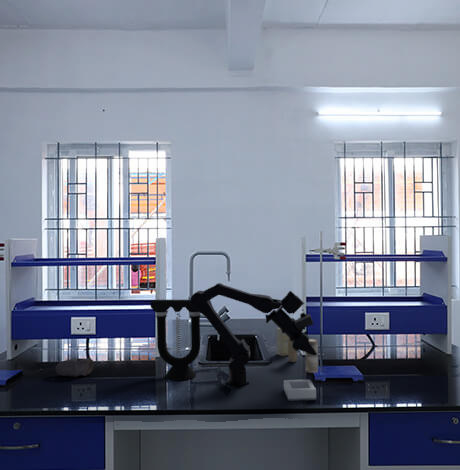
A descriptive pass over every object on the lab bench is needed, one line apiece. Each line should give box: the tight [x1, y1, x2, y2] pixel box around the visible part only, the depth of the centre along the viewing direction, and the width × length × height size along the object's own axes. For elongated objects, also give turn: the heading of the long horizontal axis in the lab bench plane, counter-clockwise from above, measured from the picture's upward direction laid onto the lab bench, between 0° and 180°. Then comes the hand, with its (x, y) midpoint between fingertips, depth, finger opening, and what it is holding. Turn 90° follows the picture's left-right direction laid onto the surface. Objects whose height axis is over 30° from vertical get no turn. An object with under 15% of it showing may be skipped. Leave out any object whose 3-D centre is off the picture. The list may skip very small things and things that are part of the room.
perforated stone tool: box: [55, 357, 94, 378], centre depth 167 cm, size 15×5×7 cm, turn 85°
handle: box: [287, 337, 298, 363], centre depth 181 cm, size 5×6×15 cm
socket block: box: [283, 379, 317, 402], centre depth 144 cm, size 9×9×4 cm
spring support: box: [150, 299, 202, 381], centre depth 165 cm, size 21×12×30 cm, turn 83°
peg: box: [305, 338, 319, 374], centre depth 153 cm, size 4×4×11 cm
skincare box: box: [275, 327, 289, 357], centre depth 192 cm, size 6×4×12 cm
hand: (315, 352), depth 153 cm, fingers closed on peg, 4 cm apart
